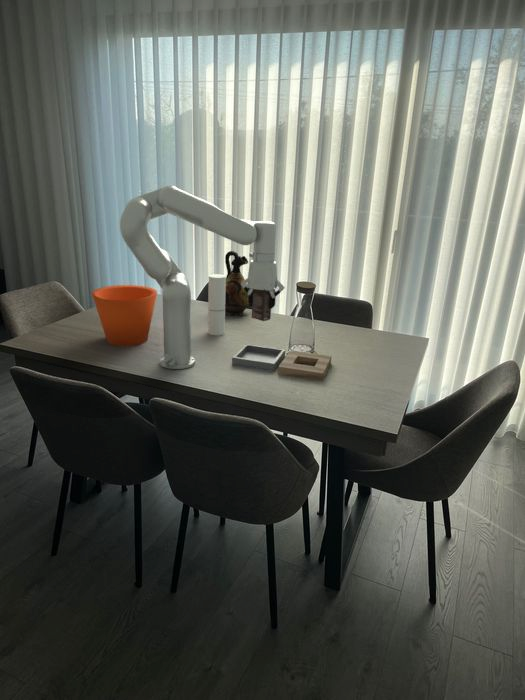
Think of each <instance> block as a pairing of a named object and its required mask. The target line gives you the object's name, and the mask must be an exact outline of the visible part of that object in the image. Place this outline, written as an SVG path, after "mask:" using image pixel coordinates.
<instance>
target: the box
mask: <svg viewBox="0 0 525 700" xmlns="http://www.w3.org/2000/svg"><path fill="white" fill-rule="evenodd" d="M270 298H271V294H270V292H269V291H265V289H264V290H253V298H252V306H251V318H252V319H254V320H258V321H261V322H267V321H269V320H271V316H272V314H271V313H272V309H270Z"/></svg>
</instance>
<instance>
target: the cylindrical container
mask: <svg viewBox="0 0 525 700" xmlns="http://www.w3.org/2000/svg"><path fill="white" fill-rule="evenodd" d="M226 276H227V275H225V274H220V273H219V274H218V273H217V274H216V273H213V274H208V287H207V288H208V299H207V300H208V301H207V303H208V304H207V305H208V306H207V307H208V308H207V309H208V312H207V317H208V318H207V321H208V322H207V333H208V334H209V335H212V336H222V335H225V332H226V331H225V330H226V329H225V328H226V327H225V326H226V325H225V324H226V313H225V288H226Z"/></svg>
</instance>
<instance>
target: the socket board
mask: <svg viewBox="0 0 525 700" xmlns="http://www.w3.org/2000/svg"><path fill="white" fill-rule="evenodd" d="M331 363H332V355H326V354H320V353H311V352H306V351H305V352H304V351H299V350H298V351H297V350H296V351H295V350H292V349H291V350H289V351H288V353H287V354H286V355H285V357H284V359H283V360H282V361H281V363H280V364H279V365H278V367H277V370H278V371H277V375H279V376H286V377H294V378H300V379H306V380H311V381H319V382H323V381H324V378H325V377H326V376H327V375H326V374H327V373H328V370H329V368H330V366H331Z"/></svg>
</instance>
